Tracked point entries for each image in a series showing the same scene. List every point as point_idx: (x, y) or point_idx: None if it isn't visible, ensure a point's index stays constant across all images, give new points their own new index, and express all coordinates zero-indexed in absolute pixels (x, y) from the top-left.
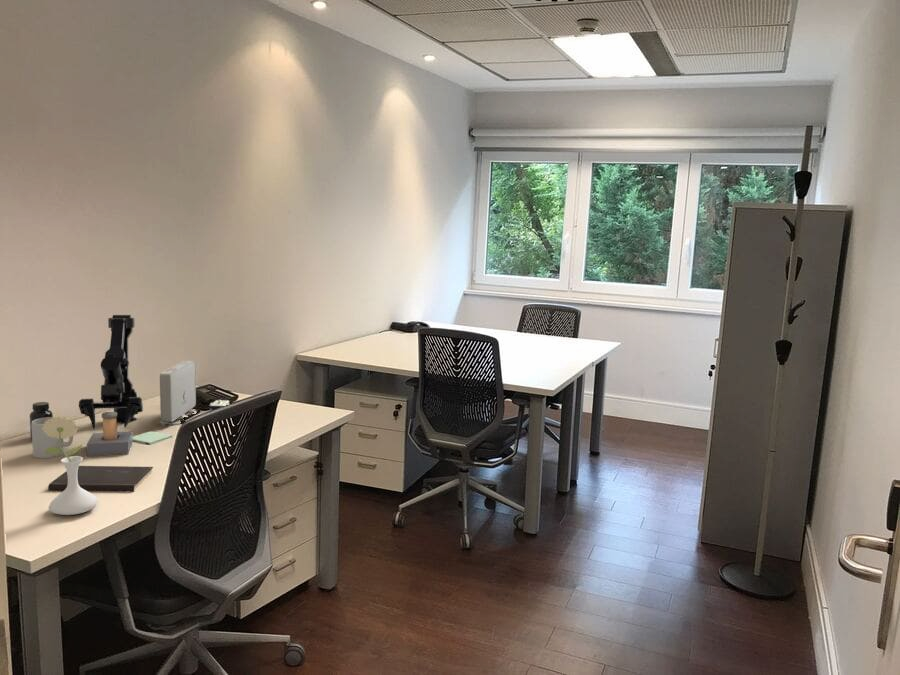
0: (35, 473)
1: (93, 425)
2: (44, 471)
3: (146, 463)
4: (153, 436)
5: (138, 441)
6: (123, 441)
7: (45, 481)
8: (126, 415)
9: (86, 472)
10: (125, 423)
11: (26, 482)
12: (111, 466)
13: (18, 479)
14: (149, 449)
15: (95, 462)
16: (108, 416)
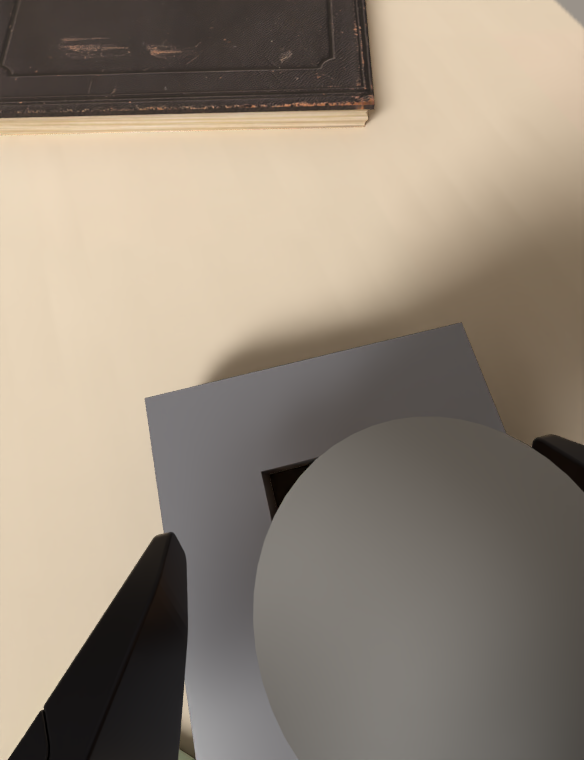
0: (532, 96)
1: (569, 446)
2: (508, 120)
3: (29, 254)
4: None
5: (184, 757)
6: (187, 409)
7: (423, 22)
8: (78, 731)
9: (262, 28)
10: (143, 565)
11: (494, 10)
12: (170, 103)
13: (553, 34)
14: (56, 534)
15: (320, 253)
16: (381, 424)
